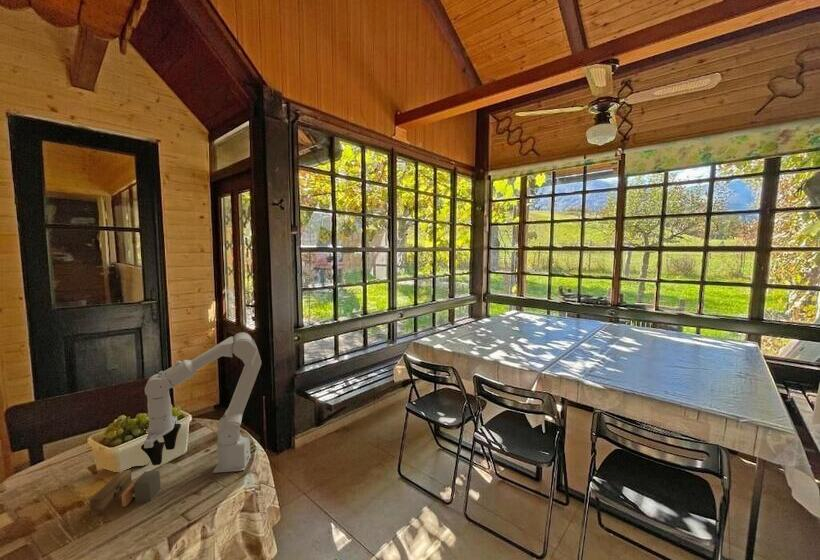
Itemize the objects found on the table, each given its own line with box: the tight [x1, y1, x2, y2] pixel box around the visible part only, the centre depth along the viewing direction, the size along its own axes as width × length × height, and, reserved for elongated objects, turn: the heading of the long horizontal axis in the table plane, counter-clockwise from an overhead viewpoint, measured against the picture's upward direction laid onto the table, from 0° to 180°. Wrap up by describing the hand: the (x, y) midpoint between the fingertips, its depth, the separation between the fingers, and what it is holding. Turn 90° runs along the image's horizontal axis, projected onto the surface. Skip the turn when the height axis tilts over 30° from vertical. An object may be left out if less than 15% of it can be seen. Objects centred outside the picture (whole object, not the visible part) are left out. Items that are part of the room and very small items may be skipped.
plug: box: [131, 470, 162, 503], centre depth 102 cm, size 6×5×6 cm
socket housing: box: [89, 469, 133, 516], centre depth 101 cm, size 3×12×4 cm, turn 8°
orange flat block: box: [120, 475, 141, 507], centre depth 102 cm, size 1×8×4 cm, turn 7°
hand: (163, 456), depth 107 cm, fingers open, 7 cm apart
